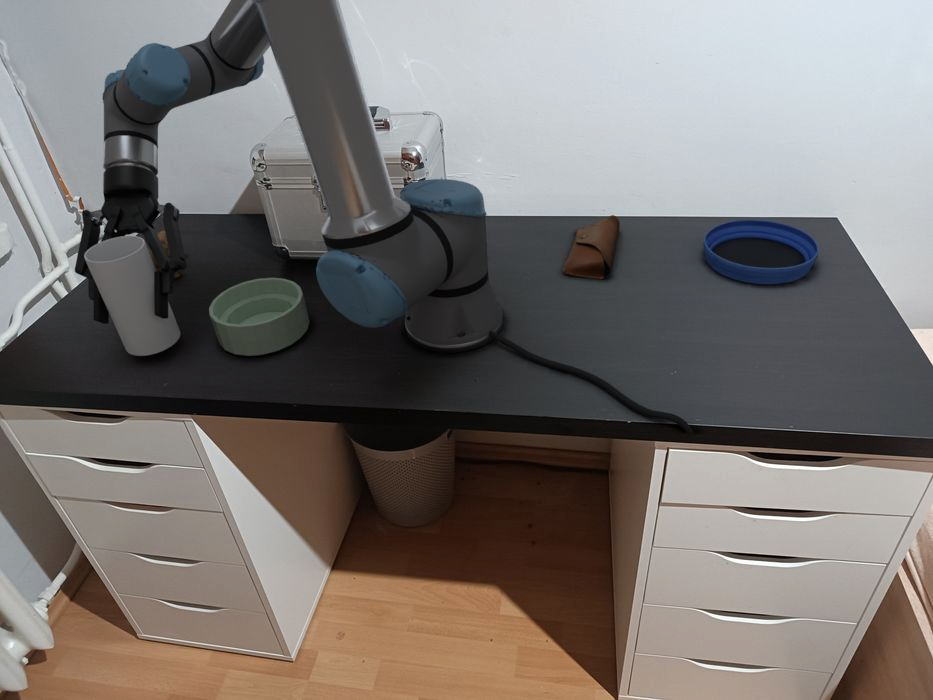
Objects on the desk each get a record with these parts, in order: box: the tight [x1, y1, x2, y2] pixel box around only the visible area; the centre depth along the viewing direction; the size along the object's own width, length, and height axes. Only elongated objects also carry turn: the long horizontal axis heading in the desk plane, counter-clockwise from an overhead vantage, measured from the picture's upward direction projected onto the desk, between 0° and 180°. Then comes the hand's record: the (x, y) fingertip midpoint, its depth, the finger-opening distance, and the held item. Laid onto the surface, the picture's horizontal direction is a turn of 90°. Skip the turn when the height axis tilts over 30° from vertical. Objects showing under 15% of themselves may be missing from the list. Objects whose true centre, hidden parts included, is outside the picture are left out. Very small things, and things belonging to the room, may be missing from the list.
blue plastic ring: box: [702, 219, 819, 285], centre depth 116 cm, size 18×18×4 cm
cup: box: [84, 235, 181, 357], centre depth 102 cm, size 8×8×16 cm
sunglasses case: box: [561, 214, 621, 280], centre depth 122 cm, size 18×7×7 cm
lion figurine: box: [146, 230, 180, 279], centre depth 127 cm, size 15×5×9 cm, turn 22°
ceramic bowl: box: [208, 277, 310, 357], centre depth 108 cm, size 14×14×6 cm
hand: (131, 318), depth 100 cm, fingers closed on cup, 8 cm apart
